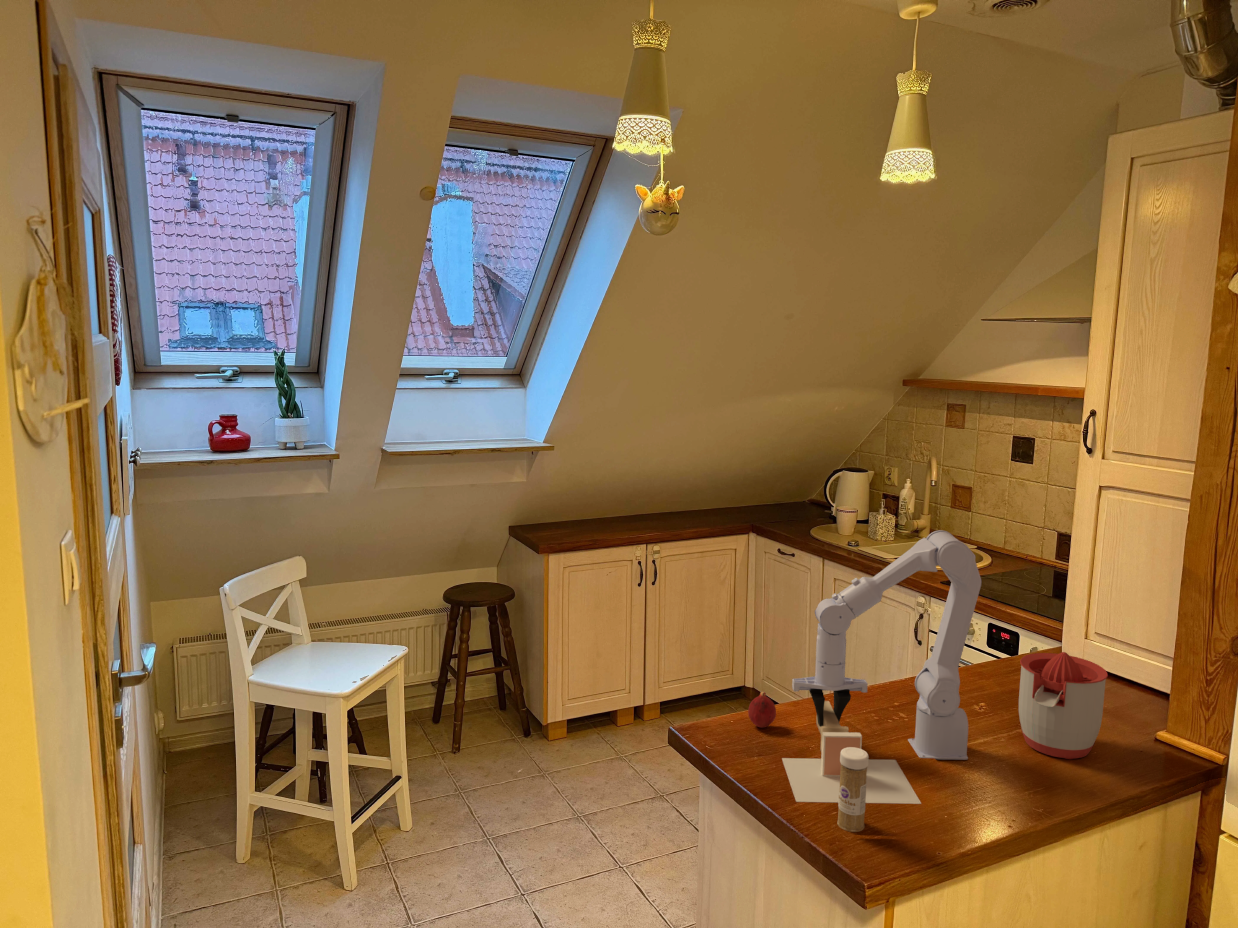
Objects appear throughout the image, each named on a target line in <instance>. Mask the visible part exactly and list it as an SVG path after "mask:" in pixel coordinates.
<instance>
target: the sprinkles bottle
mask: <svg viewBox="0 0 1238 928" xmlns="http://www.w3.org/2000/svg"><path fill="white" fill-rule="evenodd" d="M868 759H869V754H868V752H867V751H865V750H864V749H862V748H861V749H860V748H855V747H847V748H844V749H842V750H841V753H840V763H841V772H840V789H839V802H838V803H837V804H838V805H837V806H838V813H837V822H836V823H837V826H838V827H839V828H840V829H842V830H844V831H846V832H850V833H857V832H861V831H863V830H864V829H865V826H866V825H865V812H866V803H865V802H866V777H867V776H866V775H867V767H868Z"/></svg>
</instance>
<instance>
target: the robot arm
mask: <svg viewBox="0 0 1238 928" xmlns="http://www.w3.org/2000/svg"><path fill="white" fill-rule="evenodd" d="M937 566H938V567H940V569H942V571H943V573H944V574H945V576H946V577H947V578H948V580H949V581H950V582H951V583H950V586H949V590H948V595H947V597H946V600H945V601H946V602H945V604H944V608H943V611H942V616H941V619H940V623H939V626H938V631H937V634H936V637H935V641H934V645H933V649H932V652H931V656H930V657H929V658H928V659H926V660H925V661H924V664H923V666H922V669H921V670H920V671H919V673H917V675H916V677H915V679H914V687H915V690H916V691H917V693H918V694H919V699H918V701H917V702H916V711H915V712H916V714H915V732H914V738H908V739H907V741H908V742H909V744H910V746H911V747H912V749H913V750H914V752H915V754H916V755H917V756H918V757H919V758H920V759H934V760H956V761H957V760H960V761H961V760H963V761H965V760H966V761H968V759H969V757H968V755H967V754H968V753H967V752H968V742H969V741H968V739H969V720H968V716H967V712H965V709H963V708H961V707H959V706H960V703H961V696H960V693H959V691H960V685H961V679H960V674H959V665H960V662H961V659H962V655H963V652H964V647H965V644H966V640H967V637H968V633H969V629H970V626H971V623H972V620H973V617H974V616H973V615H974V613H975V609H976V604H977V601H978V597H979V594H980V590H981V587H982V578H981V574H980V572H979V568H978V565H977V562H976V555H975V554H974V552H973V551H972V550H971V548H969V546H968V545H967V544H966V543H964V542H963V541H961V540H959V539H958V538H956V537H955V536H954V535H953V534H952V533H951V532H949V531H947V530H941V529H939V530H935V531H933V532H931V533H929V534H928V535H927V536H926V537H923V538H921V539H919V540H918V541H917V542H916V543H914V545H913V546H911V548H909V549H908V550H906V551H905V552H904V553H903V554H901V555H900V556H899V557H898V558H897V559H895V560H894V561H892V562H891V563H890V564H888V565H887V566H886V567H884V568H883V569H882V570H881V571H880V572H877V573H876V574H875V575H874V576H873V577H869V576H862V577H861V578H860V577H859V578H857V577H855V578H853V579H852V580H851V581H850V582H851V583H852V584H850V585H848V586H847V587H845V588H844V589H843V590H841V591H840V592H839V593H836V592H835V593H832V595H831V598H825V599H822V600H821V601H819V603H818V604H817V607H816V609H815V610H814V616H815V618H816V621H818V623H817V630H816V631H817V632H816V633H817V635H816V643H815V675H814V676H807V677H800V678H799V677H798V678H792V679H791V680H792V681H791V682H792V683H791V688H792V690H793V692H799V691H809V693H810V697H811V699H812V701H813V704H814V708H815V713H816V718H817V719H818V724H819V726H820V727H822V726H823V721H824V719H823V711H824V702H825V701H826V697H825V696H824V692H823V691H827V692H828V691H833V707H832V709H833V711H834V713H835V715H836V717H837V719H838V721H839V722H840V720H841V719H842V715H843V712H844V711H845V708H846V707H847V705H848V704H849V703H850V701H851V698H852V695H851V692H861V693H868V684H869V683H868V682H867V680H866V679H865V678H864V679H863V678H862V679H861V678H860V679H859V678H852V677H845V676H846V656H847V631H848V630H849V628H850V627H851V623H852V621H853V620H855V619H857V618H858V617H860V616H861V615H862V614H864V613H866V612H867V611H868V610H870V609H871V608H872V607H874V606H876V605H877V604H878V603H880V602H881V601H882V597H883V594H884V592H885V591H887V590H889V589H890V588H892V587H893V586H896V585H897V584H899V583H900V582H902V581H904V580H905V579H907V578H908V577H910V576H912V575H913V574H915V573H917V572H919V571H920V572H921V571H922V572H932V573H936V572H938V568H937Z"/></svg>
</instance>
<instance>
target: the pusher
mask: <svg viewBox="0 0 1238 928" xmlns="http://www.w3.org/2000/svg"><path fill="white" fill-rule="evenodd" d="M823 719H824V721H823V726H822V727H820V726H819V724H818V719H817V717H816V720H815V721H816V723H815V724H816V727H817V728H818V732H819V734H820V752H821V753H822V732H849V729H850V728H849V726H841V723H840V721H838V719H837V717H836V715H835V713H834V711H833V706H832V705H831V702H830V701H829V700H825V702H824V711H823Z"/></svg>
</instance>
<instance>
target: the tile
mask: <svg viewBox="0 0 1238 928" xmlns="http://www.w3.org/2000/svg"><path fill="white" fill-rule="evenodd" d="M862 741H863V735H862V734H861V732H849V731H848V732H822V752H821V756H820V757H821V758H820V759H821V774H822V776H840V772H841V763H840V753H841V750H842V749H844V748H847V747H855V748H860V749H862V743H863V742H862Z"/></svg>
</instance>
